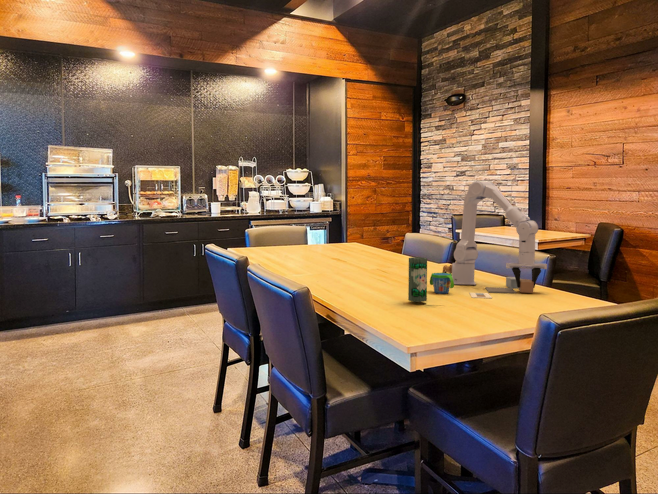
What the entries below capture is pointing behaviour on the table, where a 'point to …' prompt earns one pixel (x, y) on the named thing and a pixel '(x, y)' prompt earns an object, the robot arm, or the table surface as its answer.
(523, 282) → the brown brick
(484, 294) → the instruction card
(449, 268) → the lion figurine
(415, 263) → the can
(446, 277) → the snack cup
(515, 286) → the grey brick
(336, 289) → the table surface
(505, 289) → the baseplate
